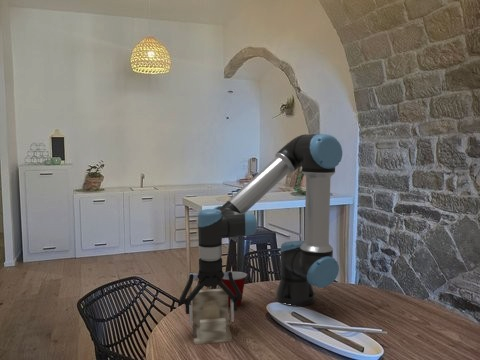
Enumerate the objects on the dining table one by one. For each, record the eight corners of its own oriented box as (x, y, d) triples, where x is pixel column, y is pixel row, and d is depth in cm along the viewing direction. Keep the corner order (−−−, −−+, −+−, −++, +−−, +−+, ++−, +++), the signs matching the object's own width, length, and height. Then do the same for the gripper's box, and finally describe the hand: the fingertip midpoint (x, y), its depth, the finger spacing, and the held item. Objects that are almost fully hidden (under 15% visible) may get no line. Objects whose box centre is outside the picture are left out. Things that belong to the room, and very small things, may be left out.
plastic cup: (244, 297, 165) (243, 268, 164) (250, 308, 154) (249, 277, 153) (217, 300, 163) (216, 270, 162) (221, 311, 152) (220, 279, 151)
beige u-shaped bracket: (227, 324, 141) (227, 288, 140) (232, 341, 129) (231, 301, 128) (192, 326, 139) (192, 290, 138) (193, 344, 128) (193, 304, 126)
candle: (201, 334, 132) (200, 304, 131) (206, 327, 137) (205, 298, 137) (217, 336, 131) (216, 305, 130) (222, 328, 136) (221, 299, 135)
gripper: (246, 252, 137) (247, 313, 139) (171, 256, 134) (173, 319, 136) (250, 259, 130) (251, 323, 132) (170, 263, 126) (172, 329, 129)
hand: (211, 321), depth 134 cm, fingers open, 13 cm apart
